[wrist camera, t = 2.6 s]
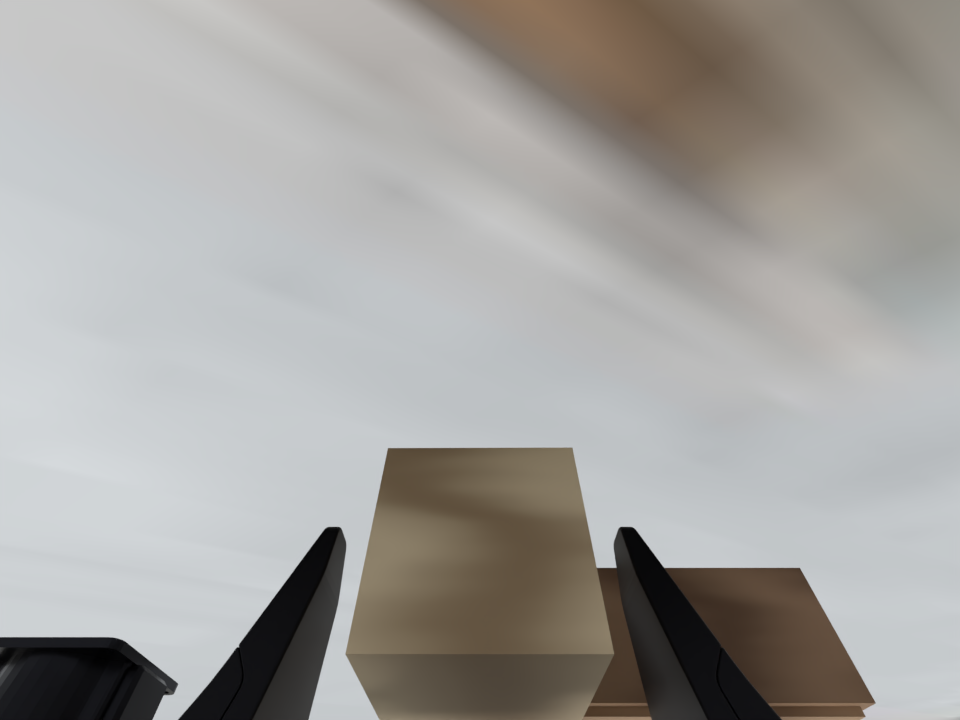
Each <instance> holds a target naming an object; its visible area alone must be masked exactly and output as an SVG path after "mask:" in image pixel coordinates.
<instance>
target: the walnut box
mask: <svg viewBox="0 0 960 720" xmlns="http://www.w3.org/2000/svg"><path fill="white" fill-rule="evenodd" d="M665 570H666V571H667V572H668V574H669V575H670V576H671V578H672V579H673V580H674V582H675V583H676V584H677V586H678V587H679V588H680V590H681V591H682V592H683V594H684V595H685V597H686V598H687V599H688V601H689V602H690V603H691V605H692V606H693V607H694V609H695V610H696V611H697V613H698V614H699V615H700V617H701V618H702V619H703V621H704V622H705V623H706V625H707V626H708V628H709V629H710V630H711V632H712V633H713V634H714V636H715V637H716V638H717V640H718V641H719V642H720V644H721V647H723V648H724V649H725V650H726V652H727V653H728V654H729V656H730V657H731V658H732V660H733V661H734V662H735V664H736V665H737V666H738V668H739V669H740V670H741V671H742V673H743V674H744V675H745V677H746V678H747V679H748V680H749V682H750V683H751V684H752V685H753V686H754V688H755V689H756V690H757V691H758V692H759V694H760V695H761V696H762V697H763V698H764V699H765V701H766V702H767V703H768V704H769V705H770V706H771V708H772V709H773V710H774V711H775V712H776V713H777V714H778V715H779V717H780V718H781V719H782V720H861V719H863V718H865V717H866V716H865V714H864V712H863V710H865V709H866V708H868V707H870V706H872V705H874V704H875V703H876V702H875V701H874V699H873V697H872V695H871V694H870V692H869V690H868V688H867V686H866V685H865V683H864V681H863V679H862V677H861V676H860V674H859V672H858V670H857V669H856V667H855V665H854V663H853V661H852V660H851V658H850V656H849V654H848V653H847V651H846V649H845V647H844V645H843V644H842V642H841V640H840V638H839V637H838V635H837V633H836V631H835V629H834V628H833V626H832V624H831V622H830V621H829V619H828V617H827V615H826V613H825V612H824V610H823V608H822V606H821V605H820V603H819V601H818V599H817V597H816V596H815V594H814V592H813V590H812V589H811V587H810V585H809V583H808V581H807V580H806V578H805V576H804V574H803V573H802V571H801V569H800V568H665ZM597 572H598V576H599V581H600V586H601V591H602V596H603V601H604V606H605V611H606V616H607V621H608V626H609V631H610V636H611V641H612V646H613V651H614V656H613V658H612V660H611V662H610V664H609V666H608V668H607V670H606V672H605V674H604V676H603V678H602V680H601V682H600V684H599V686H598V688H597V690H596V692H595V694H594V697H593V699H592V701H591V703H590V705H589V707H588V709H587V711H586V713H585V715H584V717H583V719H582V720H651V716H650V712H649V708H648V704H647V700H646V696H645V693H644V689H643V685H642V681H641V677H640V673H639V669H638V665H637V661H636V658H635V654H634V650H633V646H632V642H631V638H630V634H629V630H628V627H627V623H626V619H625V615H624V611H623V606H622V602H621V595H620V589H619V582H618V575H617V568H597Z"/></svg>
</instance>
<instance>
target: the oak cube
mask: <svg viewBox="0 0 960 720" xmlns="http://www.w3.org/2000/svg"><path fill="white" fill-rule="evenodd" d="M345 654H346V656H347V658H348V660H349V662H350V664H351V666H352V668H353V670H354V672H355V674H356V676H357V678H358V679H359V681H360V683H361V685H362V687H363V689H364V691H365V693H366V695H367V697H368V699H369V701H370V703H371V705H372V706H373V708H374V710H375V712H376V714H377V716H378V718H379V720H582V719H583V717H584V715H585V713H586V711H587V709H588V707H589V705H590V703H591V701H592V699H593V697H594V694H595V692H596V690H597V688H598V686H599V684H600V682H601V680H602V678H603V676H604V674H605V672H606V670H607V668H608V666H609V664H610V662H611V660H612V658H613V656H614V651H613V646H612V641H611V636H610V631H609V626H608V621H607V616H606V611H605V606H604V601H603V596H602V591H601V586H600V581H599V576H598V572H597V567H596V562H595V557H594V552H593V547H592V542H591V537H590V532H589V527H588V522H587V517H586V512H585V507H584V502H583V498H582V493H581V488H580V483H579V478H578V473H577V468H576V463H575V458H574V453H573V448H388V450H387V455H386V460H385V465H384V470H383V474H382V479H381V484H380V489H379V494H378V499H377V503H376V508H375V513H374V518H373V523H372V528H371V532H370V537H369V542H368V547H367V552H366V557H365V562H364V566H363V571H362V576H361V581H360V586H359V591H358V595H357V600H356V605H355V610H354V615H353V620H352V624H351V629H350V634H349V639H348V644H347V649H346V653H345Z"/></svg>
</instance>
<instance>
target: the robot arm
mask: <svg viewBox="0 0 960 720" xmlns="http://www.w3.org/2000/svg"><path fill="white" fill-rule="evenodd" d="M614 554H615V561H616V568H617V575H618V582H619V589H620V595H621V602H622V606H623V611H624V615H625V619H626V623H627V627H628V630H629V634H630V638H631V642H632V646H633V650H634V654H635V658H636V661H637V665H638V669H639V673H640V677H641V681H642V685H643V689H644V693H645V696H646V700H647V704H648V708H649V712H650V716H651V720H782V719H781V718H780V717H779V715H778V714H777V713H776V712H775V711H774V710H773V709H772V708H771V706H770V705H769V704H768V703H767V702H766V701H765V699H764V698H763V697H762V696H761V695H760V694H759V692H758V691H757V690H756V689H755V688H754V686H753V685H752V684H751V683H750V682H749V680H748V679H747V678H746V677H745V675H744V674H743V673H742V671H741V670H740V669H739V668H738V666H737V665H736V664H735V662H734V661H733V660H732V658H731V657H730V656H729V654H728V653H727V652H726V650H725V649H724V648H723V647H721V644H720V642H719V641H718V640H717V638H716V637H715V636H714V634H713V633H712V632H711V630H710V629H709V628H708V626H707V625H706V623H705V622H704V621H703V619H702V618H701V617H700V615H699V614H698V613H697V611H696V610H695V609H694V607H693V606H692V605H691V603H690V602H689V601H688V599H687V598H686V597H685V595H684V594H683V592H682V591H681V590H680V588H679V587H678V586H677V584H676V583H675V582H674V580H673V579H672V578H671V576H670V575H669V574H668V572H667V571H666V570H665V568H664V567H663V566H662V564H661V563H660V561H659V560H658V559H657V557H656V556H655V555H654V553H653V552H652V551H651V549H650V548H649V547H648V545H647V544H646V543H645V541H644V540H643V539H642V537H641V536H640V535H639V533H638V532H637V531H636V529H635V528H633V527H620V528H619V529H618V531H617V534H616V537H615V540H614ZM345 555H346V540H345V537H344V534H343V531H342V529H341V528H340V527H327V528H325V529H324V531H323V532H322V533H321V535H320V536H319V537H318V539H317V540H316V541H315V543H314V544H313V545H312V547H311V548H310V549H309V551H308V552H307V553H306V555H305V556H304V557H303V559H302V560H301V562H300V563H299V564H298V566H297V567H296V568H295V570H294V571H293V572H292V574H291V575H290V576H289V578H288V579H287V580H286V582H285V583H284V584H283V586H282V587H281V588H280V590H279V591H278V593H277V594H276V595H275V597H274V598H273V599H272V601H271V602H270V603H269V605H268V606H267V607H266V609H265V610H264V611H263V613H262V614H261V615H260V617H259V618H258V619H257V621H256V622H255V624H254V625H253V626H252V628H251V629H250V630H249V632H248V633H247V634H246V636H245V637H244V638H243V640H242V641H241V642H240V644H239V647H237V648H236V649H235V650H234V652H233V653H232V654H231V656H230V657H229V658H228V660H227V661H226V662H225V664H224V665H223V666H222V668H221V669H220V670H219V671H218V673H217V674H216V675H215V677H214V678H213V679H212V680H211V682H210V683H209V684H208V685H207V686H206V688H205V689H204V690H203V691H202V692H201V694H200V695H199V696H198V697H197V698H196V699H195V701H194V702H193V703H192V704H191V705H190V706H189V708H188V709H187V710H186V711H185V712H184V713H183V714H182V716H181V717H180V718H179V719H178V720H309V716H310V712H311V708H312V704H313V700H314V697H315V693H316V689H317V685H318V681H319V677H320V673H321V669H322V665H323V662H324V658H325V654H326V650H327V646H328V642H329V638H330V634H331V631H332V627H333V623H334V619H335V615H336V611H337V607H338V602H339V596H340V589H341V582H342V575H343V568H344V561H345ZM177 686H178V683H177V682H176V681H174V680H173V679H172V678H171V677H169V676H168V675H167V674H166V673H164V672H163V671H162V670H161V669H159V668H158V667H157V666H156V665H154V664H153V663H152V662H151V661H149V660H148V659H147V658H145V657H144V656H143V655H142V654H140V653H139V652H138V651H137V650H135V649H134V648H133V647H132V646H130V645H129V644H128V643H127V642H125V641H123V640H121V639H118V638H113V637H0V720H153V718H154V715H155V713H156V711H157V709H158V707H159V704H160V702H161V700H162V698H163V696H164V695H173V694H174V693H175V691H176V688H177Z"/></svg>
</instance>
